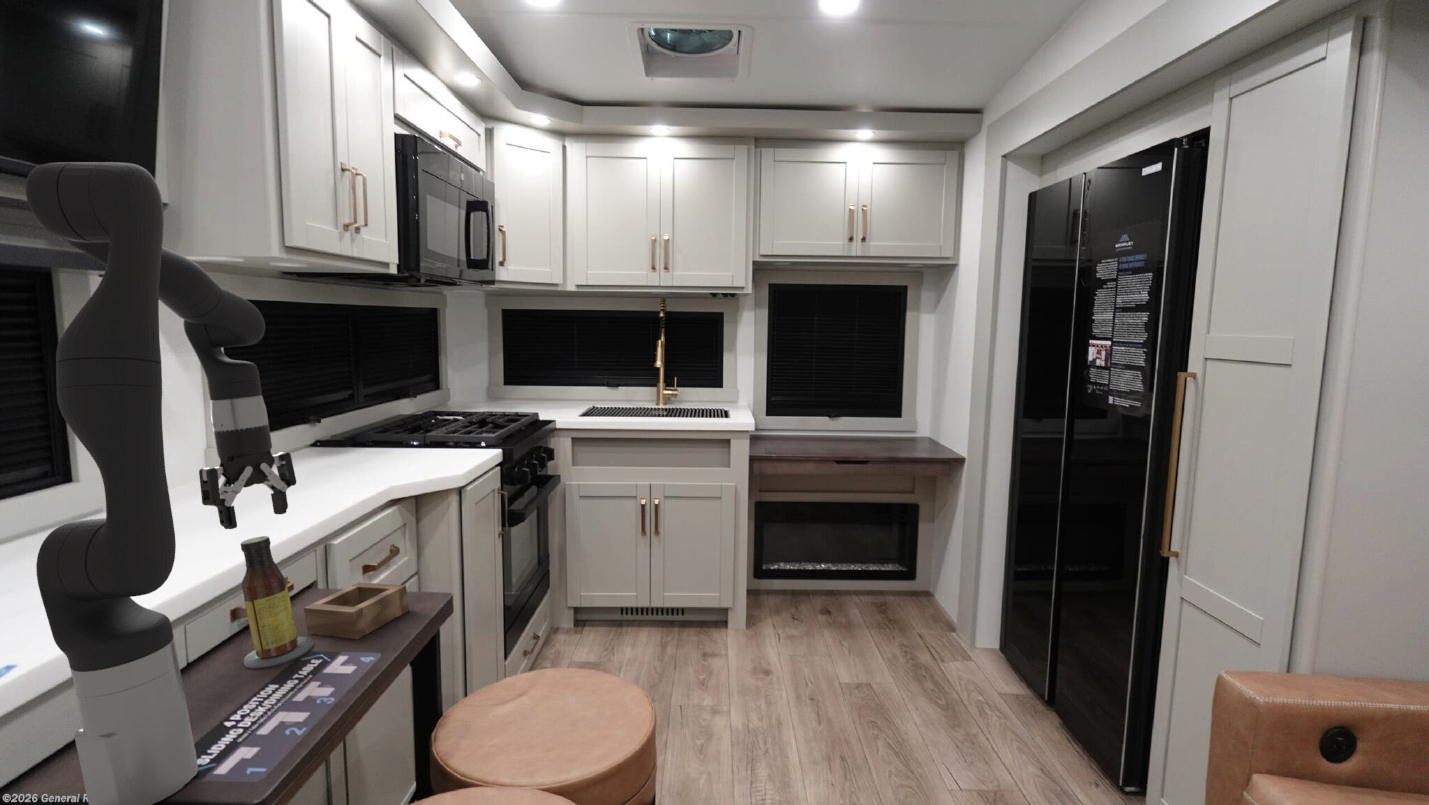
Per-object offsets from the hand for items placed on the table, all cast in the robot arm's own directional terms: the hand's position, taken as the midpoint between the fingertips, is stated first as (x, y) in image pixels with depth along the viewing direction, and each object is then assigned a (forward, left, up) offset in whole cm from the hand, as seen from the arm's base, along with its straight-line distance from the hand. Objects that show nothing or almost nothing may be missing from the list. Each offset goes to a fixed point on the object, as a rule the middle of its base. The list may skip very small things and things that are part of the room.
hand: (256, 520), depth 112 cm
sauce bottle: (0, 0, -23) cm, 23 cm away
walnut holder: (+13, -4, -24) cm, 27 cm away
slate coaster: (0, 0, -24) cm, 24 cm away
